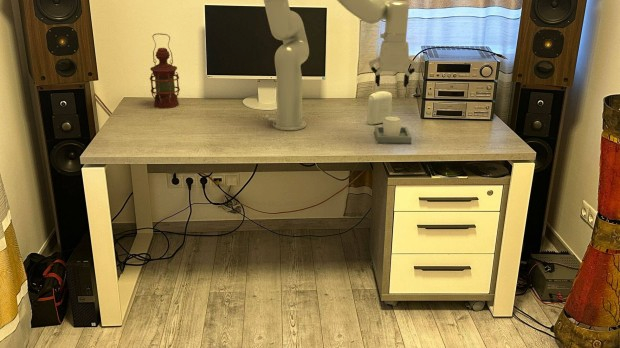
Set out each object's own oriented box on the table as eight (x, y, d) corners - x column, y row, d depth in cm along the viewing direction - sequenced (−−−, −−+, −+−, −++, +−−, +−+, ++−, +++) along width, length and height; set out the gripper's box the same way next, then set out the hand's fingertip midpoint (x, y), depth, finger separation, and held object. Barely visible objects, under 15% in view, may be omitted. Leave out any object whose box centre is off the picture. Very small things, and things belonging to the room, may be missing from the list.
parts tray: (377, 143, 226) (377, 137, 225) (374, 133, 238) (374, 126, 237) (411, 144, 226) (411, 137, 226) (406, 133, 238) (406, 127, 237)
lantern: (185, 102, 274) (181, 31, 262) (173, 110, 263) (168, 36, 251) (159, 100, 276) (153, 30, 265) (146, 107, 265) (140, 35, 254)
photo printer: (385, 118, 254) (387, 88, 250) (392, 121, 251) (394, 91, 246) (365, 123, 249) (366, 92, 244) (372, 125, 246) (373, 94, 241)
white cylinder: (395, 141, 227) (396, 122, 225) (378, 137, 231) (379, 119, 228) (404, 136, 233) (405, 117, 230) (387, 132, 236) (388, 114, 234)
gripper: (371, 39, 217) (367, 87, 224) (421, 40, 217) (417, 89, 223) (369, 35, 224) (366, 82, 230) (418, 36, 224) (414, 84, 230)
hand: (391, 85), depth 227 cm, fingers open, 9 cm apart
